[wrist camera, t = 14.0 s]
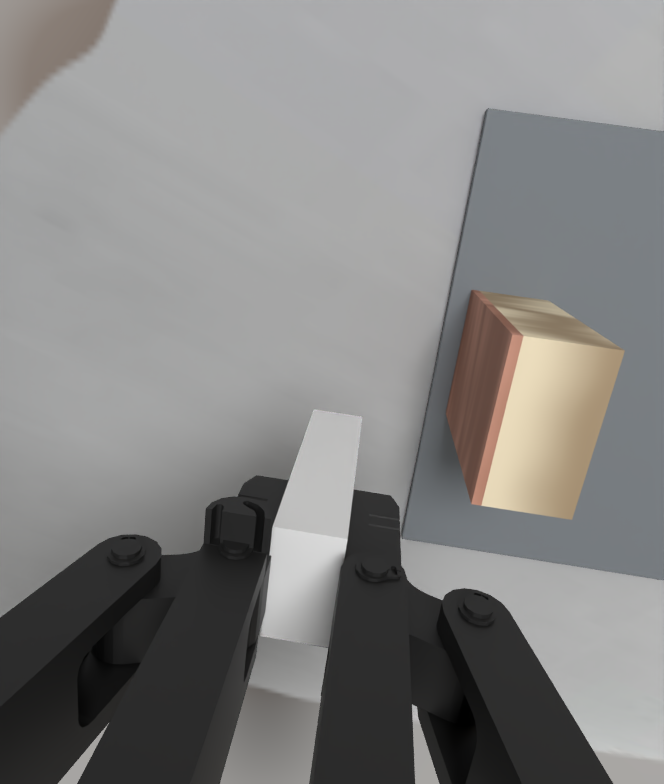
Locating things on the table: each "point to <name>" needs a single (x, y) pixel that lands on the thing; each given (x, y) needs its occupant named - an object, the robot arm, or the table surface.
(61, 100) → the table surface
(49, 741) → the robot arm
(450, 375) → the mat
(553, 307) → the face block
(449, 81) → the table surface
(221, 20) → the table surface
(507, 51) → the table surface
